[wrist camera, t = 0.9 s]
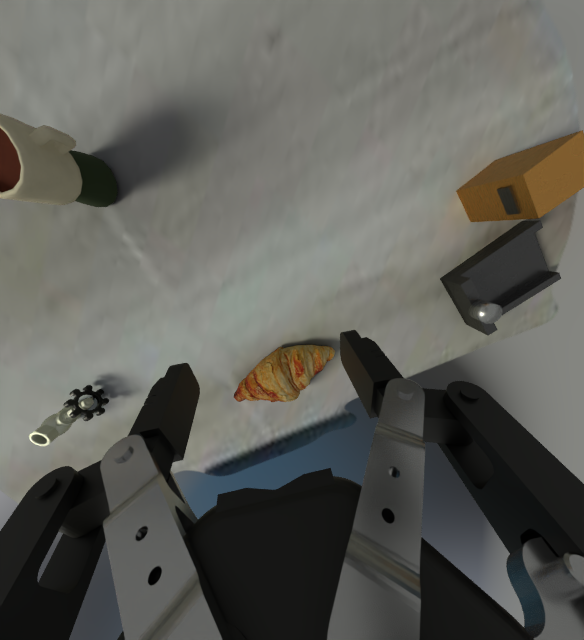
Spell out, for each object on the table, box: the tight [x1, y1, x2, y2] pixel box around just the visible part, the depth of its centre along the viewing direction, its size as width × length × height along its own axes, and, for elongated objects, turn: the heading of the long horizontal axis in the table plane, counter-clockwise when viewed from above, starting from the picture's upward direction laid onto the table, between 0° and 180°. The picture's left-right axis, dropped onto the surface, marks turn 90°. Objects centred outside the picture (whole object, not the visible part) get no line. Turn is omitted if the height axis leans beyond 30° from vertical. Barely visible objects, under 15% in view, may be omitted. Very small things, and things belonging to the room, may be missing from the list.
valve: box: [29, 385, 109, 446], centre depth 43 cm, size 7×7×12 cm
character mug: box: [0, 114, 118, 207], centre depth 25 cm, size 11×7×13 cm, turn 117°
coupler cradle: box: [440, 221, 561, 335], centre depth 34 cm, size 15×11×7 cm
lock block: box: [456, 131, 584, 222], centre depth 28 cm, size 6×6×10 cm
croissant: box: [234, 345, 335, 402], centre depth 41 cm, size 21×10×8 cm, turn 119°
